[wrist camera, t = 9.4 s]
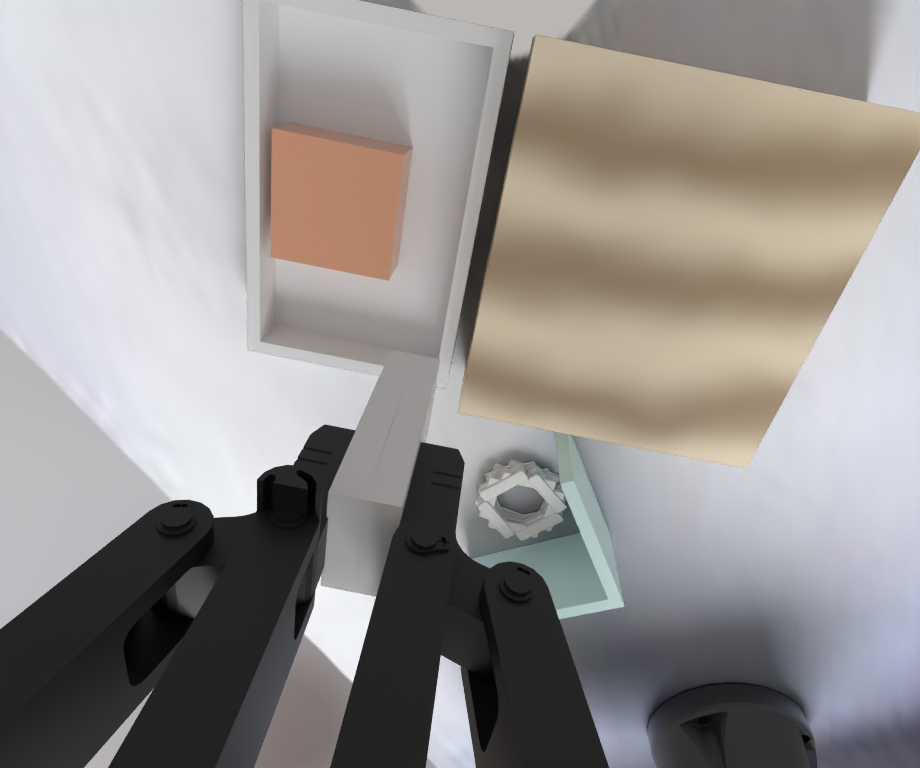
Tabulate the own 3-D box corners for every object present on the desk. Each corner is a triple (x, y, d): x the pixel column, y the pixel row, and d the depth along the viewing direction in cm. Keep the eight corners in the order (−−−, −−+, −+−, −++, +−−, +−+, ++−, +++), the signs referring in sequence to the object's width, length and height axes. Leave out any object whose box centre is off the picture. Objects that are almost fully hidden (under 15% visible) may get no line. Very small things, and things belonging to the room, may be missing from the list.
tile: (270, 257, 34) (288, 242, 36) (388, 280, 34) (398, 264, 36) (271, 128, 30) (291, 122, 33) (404, 155, 30) (412, 147, 33)
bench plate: (716, 415, 41) (746, 469, 35) (465, 366, 40) (457, 412, 35) (866, 105, 30) (938, 116, 25) (532, 37, 30) (536, 34, 25)
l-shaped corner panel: (565, 414, 42) (573, 480, 36) (609, 530, 47) (624, 606, 41) (417, 457, 45) (401, 525, 39) (474, 562, 51) (468, 637, 44)
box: (451, 363, 40) (446, 389, 37) (267, 327, 40) (247, 350, 37) (514, 33, 30) (513, 31, 27) (269, -16, 30) (242, -24, 27)
